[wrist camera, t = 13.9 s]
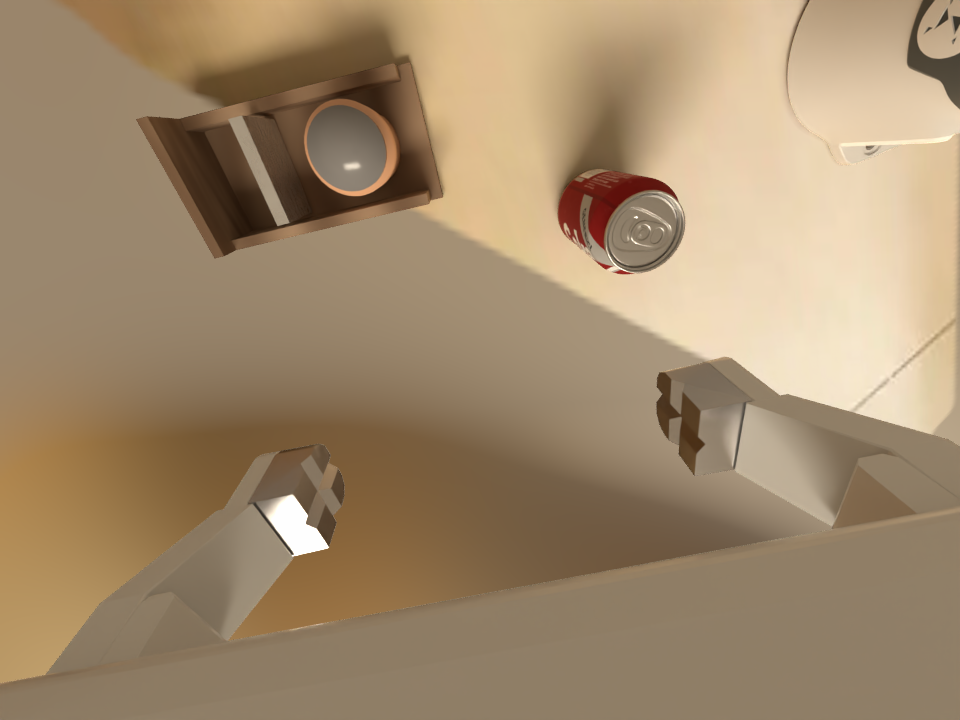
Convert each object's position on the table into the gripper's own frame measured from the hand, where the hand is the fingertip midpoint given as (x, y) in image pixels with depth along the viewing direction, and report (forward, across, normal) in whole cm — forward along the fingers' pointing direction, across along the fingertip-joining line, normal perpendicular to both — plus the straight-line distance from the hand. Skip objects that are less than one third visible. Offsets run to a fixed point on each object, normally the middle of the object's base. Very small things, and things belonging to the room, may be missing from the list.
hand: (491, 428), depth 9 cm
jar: (+30, +7, -7) cm, 32 cm away
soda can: (+31, -12, +2) cm, 34 cm away
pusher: (+30, +14, -7) cm, 34 cm away
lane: (+31, +11, -7) cm, 34 cm away
